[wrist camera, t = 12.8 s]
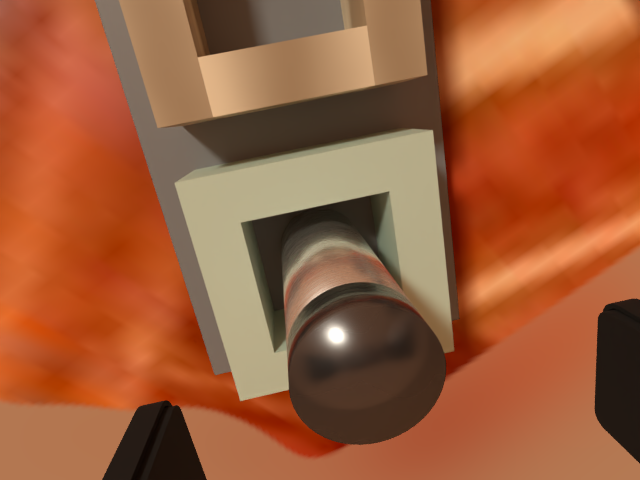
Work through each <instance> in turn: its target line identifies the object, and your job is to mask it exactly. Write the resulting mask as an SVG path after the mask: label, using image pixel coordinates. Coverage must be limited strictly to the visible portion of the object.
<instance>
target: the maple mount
mask: <svg viewBox="0 0 640 480" xmlns="http://www.w3.org/2000/svg"><path fill="white" fill-rule="evenodd" d="M119 2H120V6H121V9H122V12H123V16H124V19H125V22H126V25H127V29H128V32H129V35H130V39H131V42H132V45H133V48H134V52H135V55H136V58H137V62H138V65H139V68H140V72H141V75H142V78H143V81H144V85H145V88H146V91H147V95H148V98H149V101H150V104H151V108H152V111H153V114H154V118H155V121H156V124H157V128H166V127H178V126H186V125H191V124H196V123H201V122H206V121H211V120H216V119H221V118H226V117H231V116H236V115H241V114H246V113H251V112H256V111H262V110H267V109H272V108H277V107H282V106H287V105H292V104H297V103H302V102H307V101H312V100H317V99H322V98H327V97H332V96H338V95H343V94H348V93H353V92H358V91H363V90H368V89H373V88H378V87H383V86H388V85H393V84H398V83H401V82H405V81H408V80H412V79H415V78H419V77H422V76H426V75H428V74H427V64H426V54H425V44H424V33H423V23H422V13H421V3H420V0H340V3H341V9H342V16H343V22H344V29H345V30H340V31H335V32H330V33H325V34H319V35H314V36H309V37H303V38H298V39H293V40H288V41H282V42H277V43H272V44H266V45H261V46H256V47H251V48H245V49H240V50H235V51H229V52H224V53H219V54H214V55H210V52H209V48H208V44H207V40H206V36H205V32H204V28H203V24H202V20H201V16H200V12H199V8H198V4H197V0H119Z"/></svg>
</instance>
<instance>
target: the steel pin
mask: <svg viewBox="0 0 640 480" xmlns="http://www.w3.org/2000/svg"><path fill="white" fill-rule="evenodd" d="M281 257H282V275H283V292H284V310H285V328H286V346H287V364H288V382H289V393H290V398H291V401H292V404H293V407H294V409H295V411H296V412H297V414H298V416H299V417H300V418H301V420H302V421H303V422H304V423H305V424H306V425H307V426H308V427H309V428H310V429H312V430H313V431H314V432H316V433H317V434H319V435H321V436H323V437H325V438H327V439H330V440H332V441H336V442H340V443H345V444H359V445H361V444H372V443H377V442H382V441H385V440H388V439H391V438H394V437H396V436H398V435H400V434H402V433H404V432H406V431H408V430H409V429H410V428H412V427H413V426H415V425H416V424H417V423H418V422H420V421H421V420H422V419H423V418H424V417H425V416H426V415H427V414H428V413H429V411H430V410H431V409H432V407H433V406H434V405H435V403H436V401H437V399H438V398H439V396H440V393H441V391H442V388H443V385H444V381H445V375H446V360H445V355H444V351H443V348H442V345H441V343H440V341H439V340H438V338H437V336H436V335H435V333H434V332H433V331H432V329H431V328H430V327H429V325H428V324H427V323H426V321H425V320H424V319H423V317H422V316H421V315H420V313H419V312H418V311H417V309H416V308H415V307H414V305H413V304H412V303H411V301H410V300H409V299H408V297H407V296H406V295H405V293H404V292H403V291H402V289H401V288H400V287H399V285H398V284H397V283H396V281H395V280H394V279H393V277H392V276H391V275H390V273H389V272H388V271H387V269H386V268H385V267H384V265H383V264H382V263H381V261H380V260H379V259H378V257H377V256H376V255H375V253H374V252H373V250H372V249H371V248H370V246H369V245H368V244H367V242H366V241H365V240H364V238H363V237H362V236H361V234H360V233H359V232H358V230H357V229H356V228H355V226H354V225H353V224H352V222H351V221H350V220H349V219H348V218H347V217H346V216H345V215H343V214H342V213H340V212H338V211H336V210H333V209H329V208H313V209H309V210H306V211H304V212H302V213H300V214H299V215H297V216H296V217H295V218H293V219H292V220H291V221H290V223H289V224H288V225H287V227H286V229H285V231H284V233H283V236H282V240H281Z"/></svg>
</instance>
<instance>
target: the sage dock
mask: <svg viewBox="0 0 640 480" xmlns="http://www.w3.org/2000/svg"><path fill="white" fill-rule="evenodd" d="M175 187H176V190H177V193H178V197H179V200H180V203H181V207H182V210H183V213H184V216H185V220H186V223H187V226H188V230H189V233H190V236H191V239H192V243H193V246H194V249H195V253H196V256H197V259H198V263H199V266H200V269H201V272H202V276H203V279H204V282H205V286H206V289H207V292H208V295H209V299H210V302H211V305H212V309H213V312H214V315H215V318H216V322H217V325H218V328H219V332H220V335H221V338H222V342H223V345H224V348H225V351H226V355H227V358H228V361H229V365H230V368H231V371H232V374H233V378H234V381H235V384H236V388H237V391H238V394H239V398H240V401H242V400H246V399H251V398H255V397H259V396H263V395H268V394H272V393H276V392H281V391H285V390H289V382H288V364H287V346H286V328H285V310H284V309H281V310H277V311H274V308H273V304H272V300H271V296H270V292H269V288H268V284H267V280H266V276H265V272H264V268H263V264H262V260H261V256H260V252H259V248H258V244H257V240H256V236H255V232H254V228H253V224H252V220H256V219H260V218H265V217H270V216H275V215H279V214H284V213H289V212H294V211H298V210H303V209H308V208H313V207H317V206H322V205H327V204H332V203H336V202H341V201H346V200H351V199H355V198H360V197H365V196H369V195H370V200H371V206H372V213H373V219H374V226H375V232H376V239H377V246H378V252H379V259H380V261H381V263H382V264H383V265H384V267H385V268H386V269H387V271H388V272H389V273H390V275H391V276H392V277H393V279H394V280H395V281H396V283H397V284H398V285H399V287H400V288H401V289H402V291H403V292H404V293H405V295H406V296H407V297H408V299H409V300H410V301H411V303H412V304H413V305H414V307H415V308H416V309H417V311H418V312H419V313H420V315H421V316H422V317H423V319H424V320H425V321H426V323H427V324H428V325H429V327H430V328H431V329H432V331H433V332H434V333H435V335H436V336H437V338H438V340H439V341H440V343H441V345H442V348H443V351H444V353H448V352H452V351H454V341H453V331H452V321H451V310H450V300H449V290H448V280H447V269H446V259H445V249H444V239H443V228H442V218H441V208H440V198H439V187H438V177H437V167H436V157H435V146H434V136H433V130H424V129H410V128H398V129H393V130H388V131H383V132H379V133H374V134H369V135H364V136H359V137H354V138H349V139H344V140H339V141H334V142H329V143H324V144H319V145H315V146H310V147H305V148H300V149H295V150H290V151H285V152H280V153H275V154H270V155H265V156H260V157H255V158H250V159H246V160H241V161H236V162H231V163H226V164H221V165H216V166H211V167H206V168H201V169H196V170H194V171H192V172H191V173H189V174H187V175H186V176H184V177H183V178H181V179H180V180H178V181H177V182H175Z"/></svg>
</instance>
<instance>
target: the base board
mask: <svg viewBox="0 0 640 480" xmlns="http://www.w3.org/2000/svg"><path fill="white" fill-rule="evenodd" d="M95 2H96V5H97V8H98V12H99V15H100V18H101V21H102V24H103V27H104V30H105V33H106V37H107V40H108V43H109V46H110V49H111V52H112V55H113V58H114V62H115V65H116V68H117V71H118V74H119V77H120V80H121V83H122V87H123V90H124V93H125V96H126V99H127V102H128V105H129V108H130V112H131V115H132V118H133V121H134V124H135V127H136V130H137V133H138V137H139V140H140V143H141V146H142V149H143V152H144V155H145V158H146V162H147V165H148V168H149V171H150V174H151V177H152V180H153V183H154V187H155V190H156V193H157V196H158V199H159V202H160V205H161V208H162V212H163V215H164V218H165V221H166V224H167V227H168V230H169V233H170V237H171V240H172V243H173V246H174V249H175V252H176V255H177V258H178V262H179V265H180V268H181V271H182V274H183V277H184V280H185V283H186V287H187V290H188V293H189V296H190V299H191V302H192V305H193V308H194V312H195V315H196V318H197V321H198V324H199V327H200V330H201V333H202V336H203V340H204V343H205V346H206V349H207V352H208V355H209V358H210V361H211V365H212V368H213V371H214V374H215V375H217V374H222V373H226V372H230V371H231V368H230V365H229V361H228V358H227V355H226V351H225V348H224V345H223V342H222V338H221V335H220V332H219V328H218V325H217V322H216V318H215V315H214V312H213V309H212V305H211V302H210V299H209V295H208V292H207V289H206V286H205V282H204V279H203V276H202V272H201V269H200V266H199V263H198V259H197V256H196V253H195V249H194V246H193V243H192V239H191V236H190V233H189V230H188V226H187V223H186V220H185V216H184V213H183V210H182V207H181V203H180V200H179V197H178V193H177V190H176V187H175V182H177V181H178V180H180V179H181V178H183V177H184V176H186V175H187V174H189V173H191V172H192V171H194V170H196V169H201V168H206V167H211V166H216V165H221V164H226V163H231V162H236V161H241V160H246V159H250V158H255V157H260V156H265V155H270V154H275V153H280V152H285V151H290V150H295V149H300V148H305V147H310V146H315V145H319V144H324V143H329V142H334V141H339V140H344V139H349V138H354V137H359V136H364V135H369V134H374V133H379V132H383V131H388V130H393V129H398V128H410V129H424V130H433V136H434V146H435V157H436V167H437V177H438V187H439V198H440V208H441V218H442V228H443V239H444V249H445V259H446V269H447V280H448V290H449V300H450V310H451V321H453V320H457V319H459V309H458V298H457V287H456V276H455V265H454V253H453V242H452V231H451V220H450V209H449V198H448V187H447V176H446V165H445V154H444V143H443V132H442V121H441V110H440V99H439V88H438V76H437V65H436V54H435V43H434V32H433V21H432V10H431V0H420V3H421V13H422V23H423V33H424V44H425V54H426V64H427V74H428V75H426V76H422V77H419V78H415V79H412V80H408V81H405V82H401V83H398V84H393V85H388V86H383V87H378V88H373V89H368V90H363V91H358V92H353V93H348V94H343V95H338V96H332V97H327V98H322V99H317V100H312V101H307V102H302V103H297V104H292V105H287V106H282V107H277V108H272V109H267V110H262V111H256V112H251V113H246V114H241V115H236V116H231V117H226V118H221V119H216V120H211V121H206V122H201V123H196V124H191V125H186V126H178V127H166V128H157V124H156V121H155V118H154V114H153V111H152V108H151V104H150V101H149V98H148V95H147V91H146V88H145V85H144V81H143V78H142V75H141V72H140V68H139V65H138V62H137V58H136V55H135V52H134V48H133V45H132V42H131V39H130V35H129V32H128V29H127V25H126V22H125V19H124V16H123V12H122V9H121V6H120V2H119V0H95ZM197 4H198V8H199V12H200V16H201V20H202V24H203V28H204V32H205V36H206V40H207V44H208V48H209V52H210V55H214V54H219V53H224V52H229V51H235V50H240V49H245V48H251V47H256V46H261V45H266V44H272V43H277V42H282V41H288V40H293V39H298V38H303V37H309V36H314V35H319V34H325V33H330V32H335V31H340V30H345V29H344V22H343V16H342V9H341V3H340V0H197ZM313 208H329V209H333V210H336V211H338V212H340V213H342V214H343V215H345V216H346V217H347V218H348V219H349V220H350V221H351V222H352V224H353V225H354V226H355V228H356V229H357V230H358V232H359V233H360V234H361V236H362V237H363V238H364V240H365V241H366V242H367V244H368V245H369V246H370V248H371V249H372V250H373V252H374V253H375V255H376V256H377V257H378V259H379V252H378V246H377V239H376V232H375V226H374V219H373V213H372V206H371V200H370V195H369V196H365V197H360V198H355V199H351V200H346V201H341V202H336V203H332V204H327V205H322V206H317V207H313ZM313 208H308V209H303V210H298V211H294V212H289V213H284V214H279V215H275V216H270V217H265V218H260V219H256V220H252V224H253V228H254V232H255V236H256V240H257V244H258V248H259V252H260V256H261V260H262V264H263V268H264V272H265V276H266V280H267V284H268V288H269V292H270V296H271V300H272V304H273V308H274V311H277V310H281V309H284V292H283V275H282V257H281V240H282V236H283V233H284V231H285V229H286V227H287V225H288V224H289V223H290V221H291V220H292V219H293V218H295V217H296V216H297V215H299V214H300V213H302V212H304V211H306V210H309V209H313ZM379 260H380V259H379Z"/></svg>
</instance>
